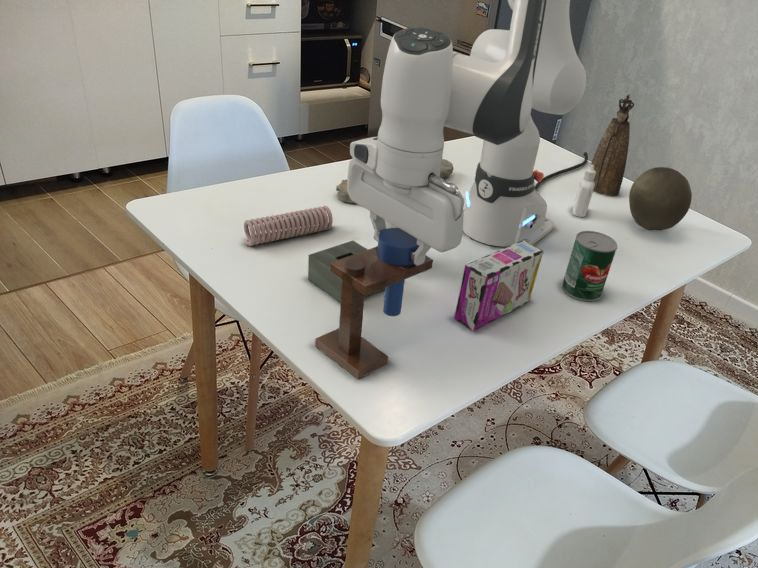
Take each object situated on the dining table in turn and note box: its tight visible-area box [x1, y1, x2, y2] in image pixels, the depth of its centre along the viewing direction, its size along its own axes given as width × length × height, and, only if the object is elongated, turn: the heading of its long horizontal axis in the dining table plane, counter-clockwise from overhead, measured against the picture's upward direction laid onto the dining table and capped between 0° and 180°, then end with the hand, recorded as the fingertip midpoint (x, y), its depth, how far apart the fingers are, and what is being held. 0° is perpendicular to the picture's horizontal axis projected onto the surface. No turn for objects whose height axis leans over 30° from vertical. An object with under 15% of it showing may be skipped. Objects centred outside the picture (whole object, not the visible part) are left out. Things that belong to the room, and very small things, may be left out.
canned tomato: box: [561, 230, 618, 302], centre depth 125 cm, size 8×8×11 cm
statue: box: [589, 94, 635, 197], centre depth 166 cm, size 9×8×25 cm
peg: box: [377, 228, 420, 317], centre depth 99 cm, size 6×6×13 cm
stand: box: [314, 246, 434, 380], centre depth 99 cm, size 15×10×16 cm
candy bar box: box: [454, 240, 544, 332], centre depth 114 cm, size 11×5×16 cm
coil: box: [243, 205, 334, 247], centre depth 126 cm, size 5×5×18 cm
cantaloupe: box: [628, 166, 693, 232], centre depth 152 cm, size 14×14×15 cm
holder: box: [307, 240, 385, 303], centre depth 115 cm, size 10×10×5 cm
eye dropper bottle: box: [572, 164, 596, 218], centre depth 155 cm, size 4×6×12 cm
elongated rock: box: [335, 158, 455, 204], centre depth 153 cm, size 35×5×10 cm
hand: (398, 251), depth 97 cm, fingers closed on peg, 6 cm apart
